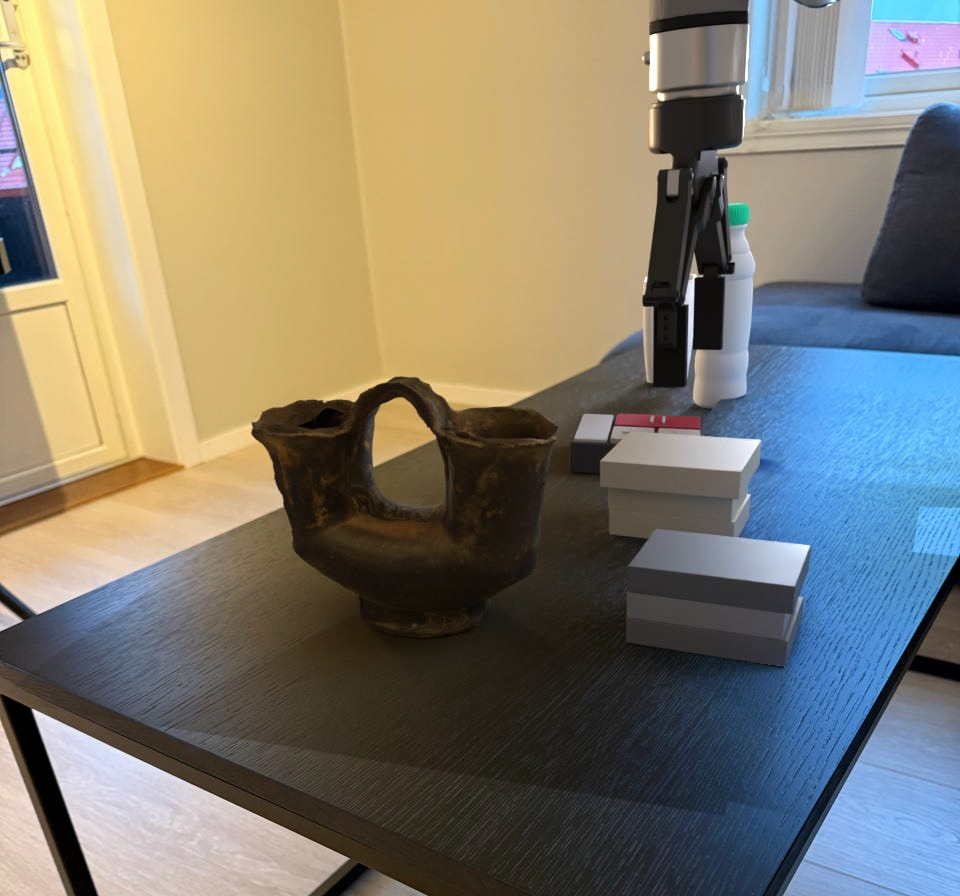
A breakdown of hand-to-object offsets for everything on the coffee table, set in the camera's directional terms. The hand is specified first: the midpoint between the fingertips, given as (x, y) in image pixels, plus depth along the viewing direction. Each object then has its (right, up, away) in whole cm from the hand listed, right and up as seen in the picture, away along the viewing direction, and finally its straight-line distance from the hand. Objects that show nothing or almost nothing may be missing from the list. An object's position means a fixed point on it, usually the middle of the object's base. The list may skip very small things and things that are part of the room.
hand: (689, 366), depth 84 cm
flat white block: (0, -9, +5) cm, 10 cm away
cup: (+9, +14, +56) cm, 58 cm away
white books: (+1, -14, +8) cm, 16 cm away
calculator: (0, -3, +27) cm, 27 cm away
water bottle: (+14, +8, +44) cm, 47 cm away
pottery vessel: (-24, -22, -4) cm, 33 cm away
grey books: (-1, -24, -11) cm, 27 cm away
